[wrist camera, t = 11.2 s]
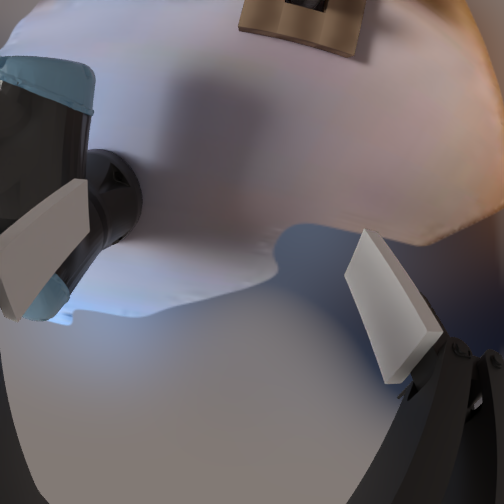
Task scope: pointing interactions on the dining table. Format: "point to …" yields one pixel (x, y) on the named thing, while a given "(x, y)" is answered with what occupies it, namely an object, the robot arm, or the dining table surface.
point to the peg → (306, 3)
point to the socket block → (307, 23)
